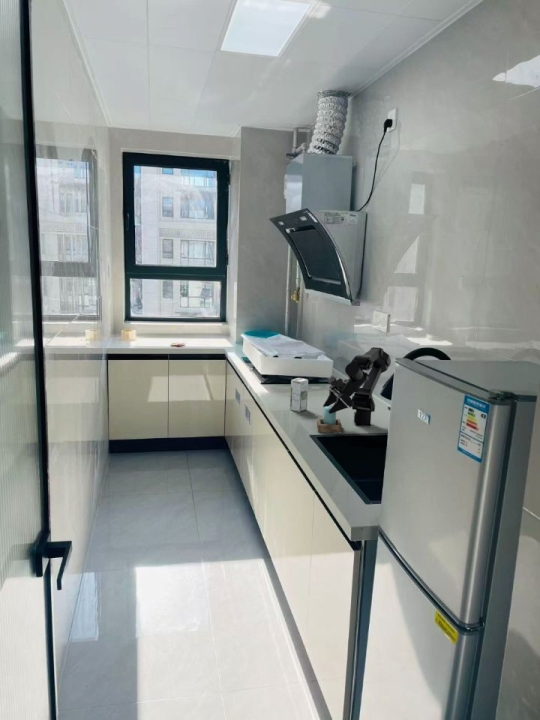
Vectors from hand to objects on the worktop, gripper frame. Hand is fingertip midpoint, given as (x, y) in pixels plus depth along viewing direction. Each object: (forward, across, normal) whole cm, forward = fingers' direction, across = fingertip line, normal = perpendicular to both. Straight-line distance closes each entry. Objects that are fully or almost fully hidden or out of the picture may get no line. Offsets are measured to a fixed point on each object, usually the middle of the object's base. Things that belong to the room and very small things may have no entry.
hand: (326, 409), depth 227 cm
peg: (+5, 0, +7) cm, 8 cm away
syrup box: (+10, -31, +2) cm, 32 cm away
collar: (+5, 0, +7) cm, 8 cm away
